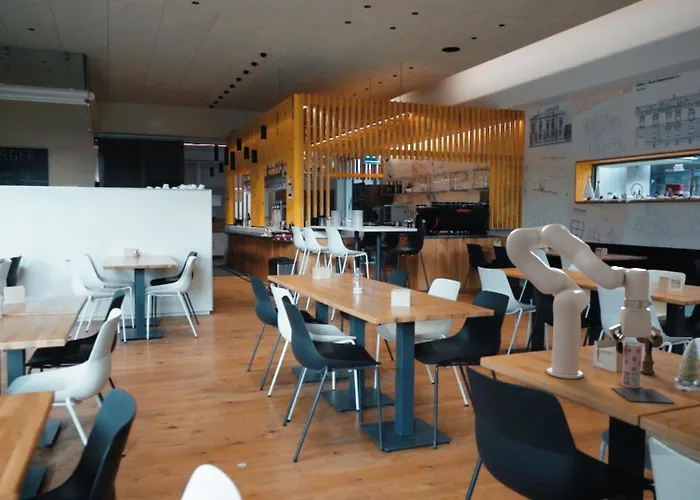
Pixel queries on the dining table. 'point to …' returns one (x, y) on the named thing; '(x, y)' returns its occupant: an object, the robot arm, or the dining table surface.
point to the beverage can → (631, 365)
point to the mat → (642, 395)
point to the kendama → (648, 360)
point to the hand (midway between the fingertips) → (633, 353)
